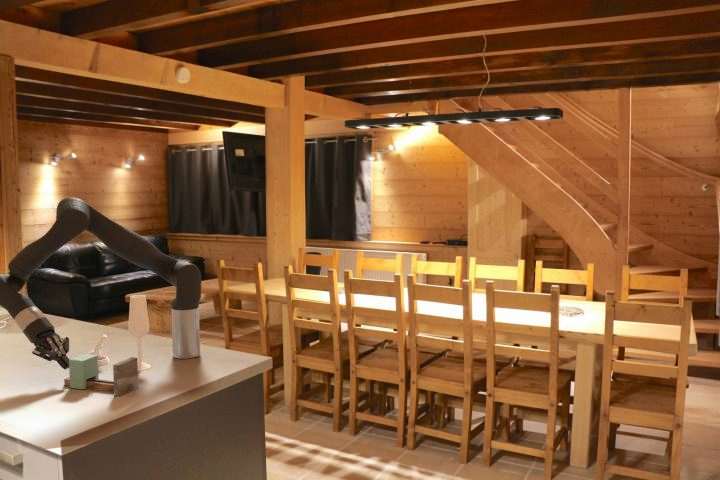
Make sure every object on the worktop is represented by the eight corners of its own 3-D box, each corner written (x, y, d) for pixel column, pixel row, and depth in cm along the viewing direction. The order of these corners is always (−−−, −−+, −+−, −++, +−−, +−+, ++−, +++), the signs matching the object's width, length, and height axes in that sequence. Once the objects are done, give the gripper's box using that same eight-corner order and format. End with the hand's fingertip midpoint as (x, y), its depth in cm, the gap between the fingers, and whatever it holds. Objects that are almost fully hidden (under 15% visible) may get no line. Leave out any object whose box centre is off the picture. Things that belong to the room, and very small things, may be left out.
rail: (57, 388, 173) (56, 358, 172) (78, 379, 181) (77, 351, 180) (120, 396, 167) (118, 365, 166) (138, 387, 174) (137, 357, 174)
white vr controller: (117, 351, 194) (98, 341, 192) (99, 378, 196) (79, 368, 194) (123, 341, 201) (105, 330, 199) (106, 366, 203) (87, 356, 201)
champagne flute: (128, 371, 189) (125, 298, 187) (130, 365, 196) (128, 294, 193) (150, 369, 191) (148, 297, 189) (151, 363, 197) (149, 293, 195)
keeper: (69, 387, 173) (68, 359, 172) (85, 380, 179) (84, 353, 178) (83, 389, 172) (82, 361, 171) (98, 382, 177) (97, 355, 177)
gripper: (45, 327, 186) (78, 368, 184) (9, 337, 173) (44, 381, 171) (58, 312, 184) (91, 353, 182) (22, 321, 171) (57, 365, 169)
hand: (68, 367), depth 176 cm, fingers closed
